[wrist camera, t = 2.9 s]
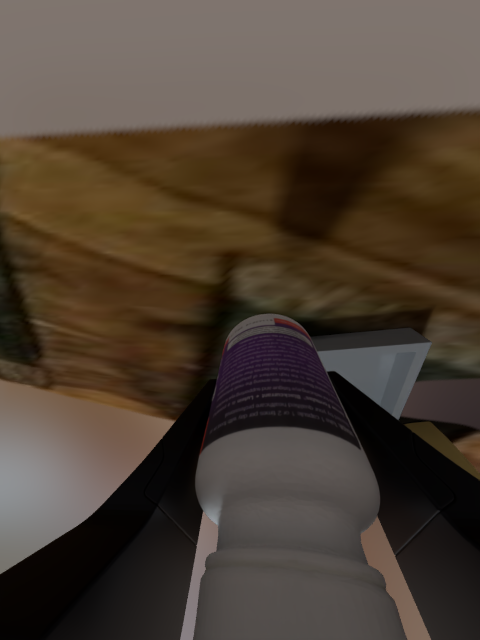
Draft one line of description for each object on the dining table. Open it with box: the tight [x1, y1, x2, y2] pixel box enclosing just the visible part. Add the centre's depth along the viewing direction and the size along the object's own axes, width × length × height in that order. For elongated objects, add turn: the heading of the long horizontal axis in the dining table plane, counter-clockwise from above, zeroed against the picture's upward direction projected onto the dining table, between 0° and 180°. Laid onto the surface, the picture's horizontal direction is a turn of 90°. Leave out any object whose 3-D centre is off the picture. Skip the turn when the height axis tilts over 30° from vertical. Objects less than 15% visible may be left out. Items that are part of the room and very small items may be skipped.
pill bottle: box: [193, 314, 407, 640], centre depth 7 cm, size 5×5×10 cm
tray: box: [310, 328, 432, 420], centre depth 22 cm, size 16×16×3 cm
